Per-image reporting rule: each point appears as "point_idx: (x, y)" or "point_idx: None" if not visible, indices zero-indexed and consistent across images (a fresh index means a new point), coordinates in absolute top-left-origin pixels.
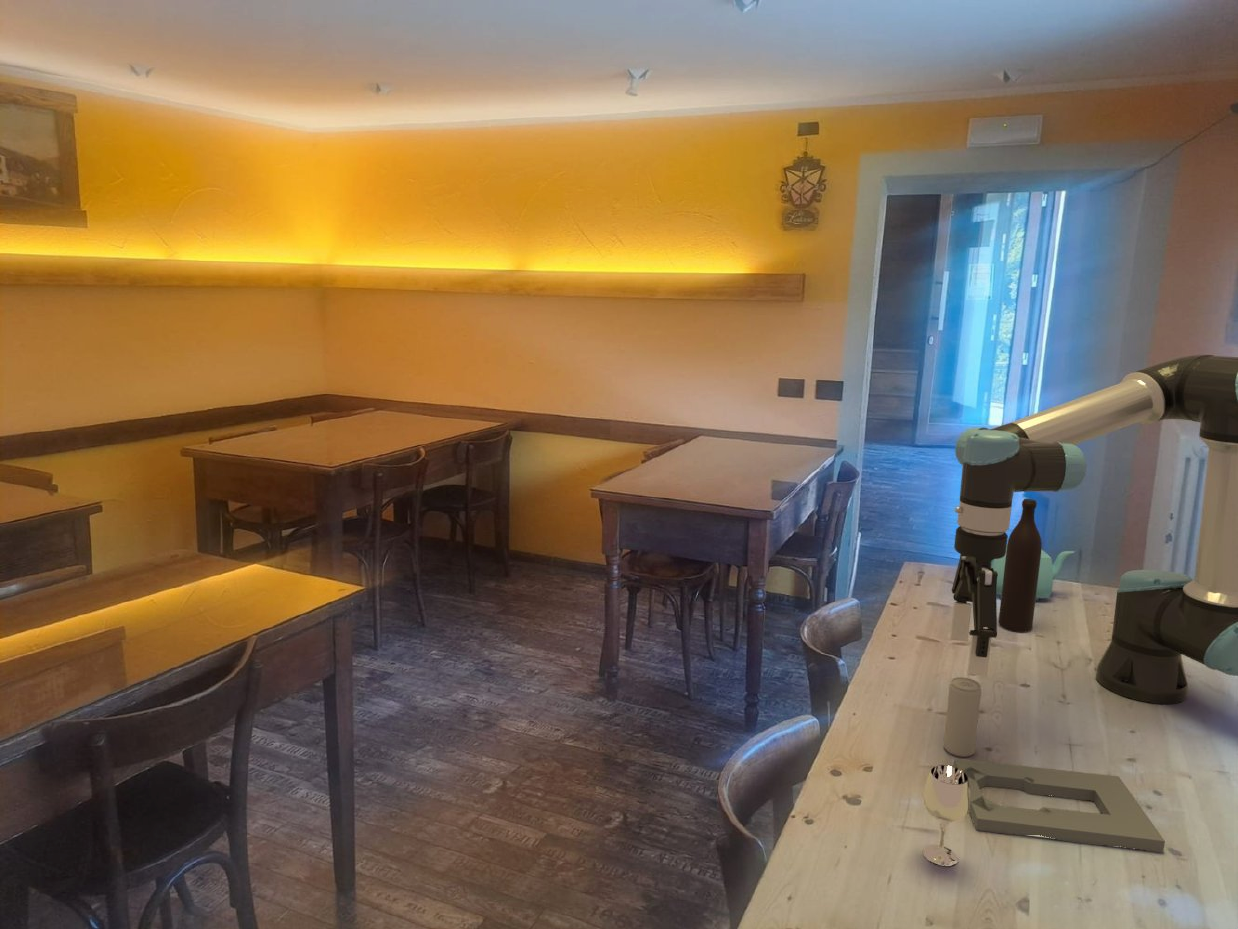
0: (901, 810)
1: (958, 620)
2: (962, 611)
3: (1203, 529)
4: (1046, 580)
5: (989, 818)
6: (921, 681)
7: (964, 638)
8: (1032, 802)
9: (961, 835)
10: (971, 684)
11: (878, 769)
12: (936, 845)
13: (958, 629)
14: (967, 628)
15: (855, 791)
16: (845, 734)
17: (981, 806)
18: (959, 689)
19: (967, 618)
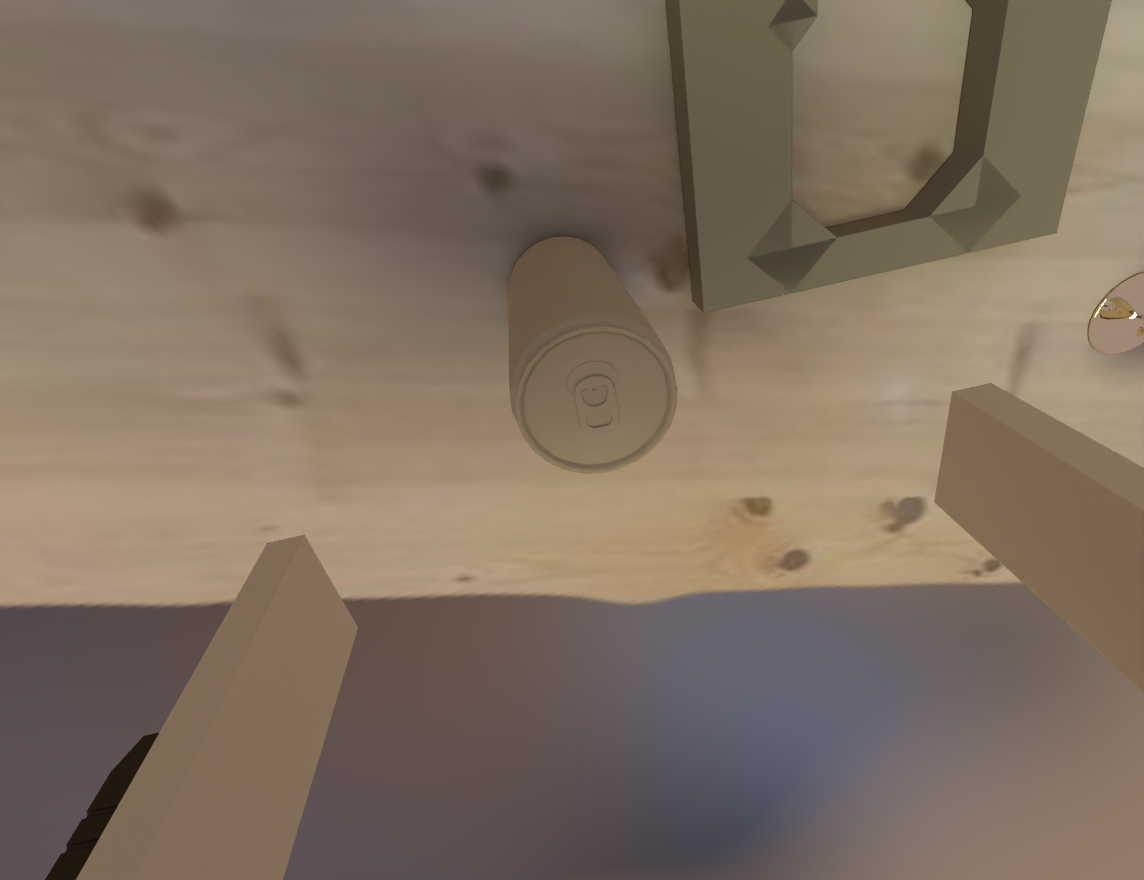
0: (939, 414)
1: (284, 767)
2: (223, 875)
3: None
4: None
5: (1056, 194)
6: (47, 444)
7: (309, 572)
8: (849, 13)
9: (1046, 265)
10: (585, 375)
11: (754, 485)
12: (1098, 326)
13: (310, 674)
14: (266, 637)
15: (868, 513)
16: (597, 575)
17: (993, 220)
18: (657, 424)
19: (224, 747)
